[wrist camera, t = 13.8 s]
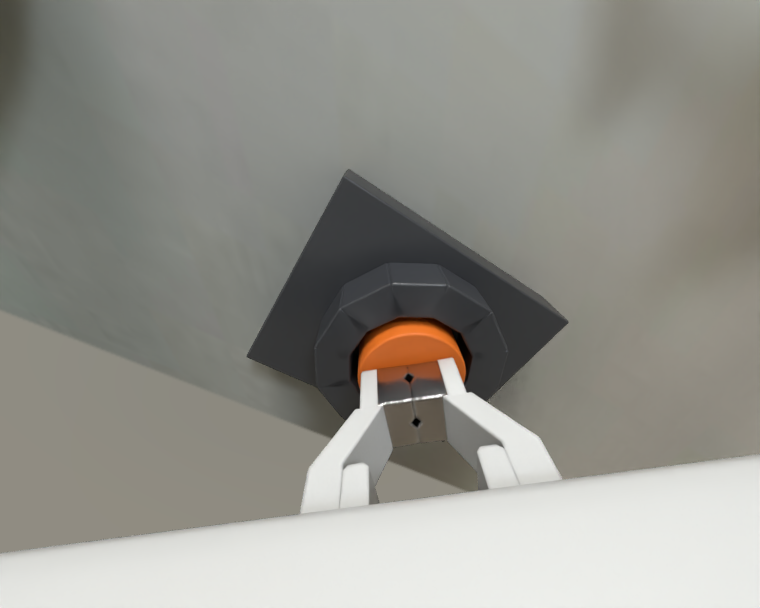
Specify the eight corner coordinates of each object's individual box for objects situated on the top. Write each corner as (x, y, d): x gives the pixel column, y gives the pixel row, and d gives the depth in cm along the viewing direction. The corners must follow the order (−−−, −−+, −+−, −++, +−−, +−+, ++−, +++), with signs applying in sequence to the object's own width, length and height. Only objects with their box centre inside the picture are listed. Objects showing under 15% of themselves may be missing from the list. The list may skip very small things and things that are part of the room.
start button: (473, 334, 12) (489, 364, 10) (417, 396, 13) (424, 430, 12) (393, 288, 11) (396, 314, 9) (341, 360, 12) (337, 393, 11)
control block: (542, 296, 14) (599, 350, 11) (435, 408, 17) (452, 478, 14) (347, 168, 11) (338, 183, 8) (262, 327, 15) (227, 389, 11)
